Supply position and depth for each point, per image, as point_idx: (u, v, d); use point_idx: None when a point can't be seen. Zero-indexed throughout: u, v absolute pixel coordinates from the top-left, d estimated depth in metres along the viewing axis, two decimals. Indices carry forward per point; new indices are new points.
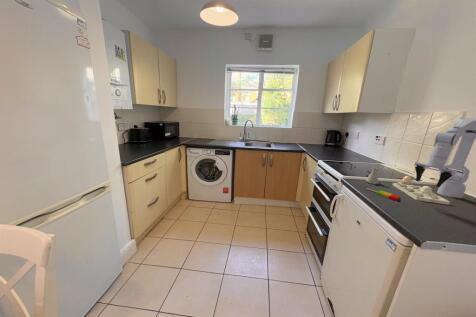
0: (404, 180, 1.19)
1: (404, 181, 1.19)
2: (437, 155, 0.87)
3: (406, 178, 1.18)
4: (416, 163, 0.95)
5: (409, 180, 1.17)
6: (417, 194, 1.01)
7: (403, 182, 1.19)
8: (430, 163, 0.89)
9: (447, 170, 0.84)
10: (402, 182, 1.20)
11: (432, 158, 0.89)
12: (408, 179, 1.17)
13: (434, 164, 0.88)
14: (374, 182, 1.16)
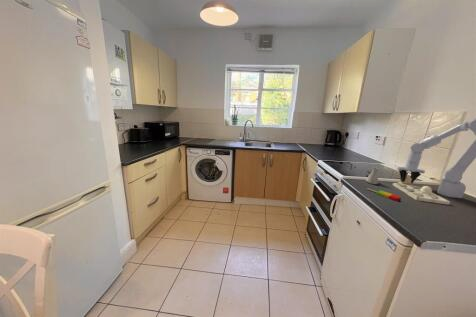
0: None
1: (404, 181, 1.19)
2: None
3: (406, 178, 1.18)
4: None
5: (409, 180, 1.17)
6: (417, 194, 1.01)
7: (403, 182, 1.19)
8: None
9: None
10: (402, 182, 1.20)
11: None
12: (408, 179, 1.17)
13: None
14: (374, 182, 1.16)
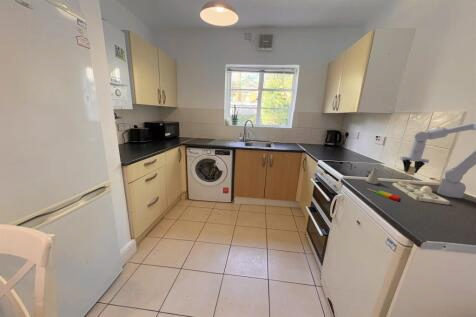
0: (408, 170, 1.17)
1: (408, 171, 1.17)
2: None
3: (410, 168, 1.16)
4: None
5: (413, 170, 1.15)
6: (417, 194, 1.01)
7: (406, 172, 1.17)
8: None
9: None
10: (405, 172, 1.18)
11: None
12: (412, 169, 1.15)
13: None
14: (374, 182, 1.16)
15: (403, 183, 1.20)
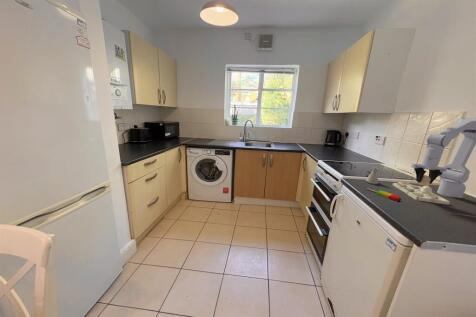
0: (421, 180, 0.97)
1: (421, 181, 0.97)
2: (429, 156, 0.93)
3: (423, 177, 0.96)
4: None
5: (427, 180, 0.95)
6: (417, 194, 1.01)
7: (419, 182, 0.98)
8: None
9: None
10: (418, 182, 0.98)
11: None
12: (426, 179, 0.95)
13: None
14: (374, 182, 1.16)
15: (403, 183, 1.20)
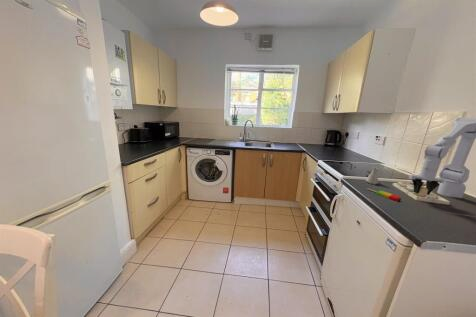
0: None
1: None
2: (427, 168, 0.93)
3: (421, 189, 0.96)
4: None
5: (425, 191, 0.96)
6: None
7: (417, 193, 0.98)
8: None
9: None
10: (416, 193, 0.98)
11: None
12: (423, 190, 0.96)
13: None
14: (374, 182, 1.16)
15: (403, 183, 1.20)
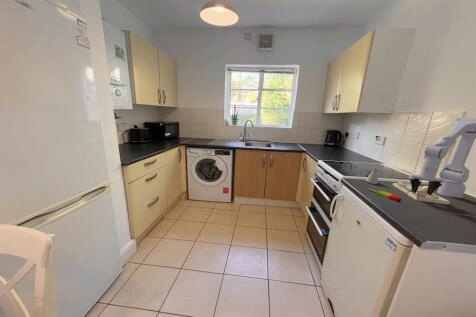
0: (417, 194, 0.98)
1: (417, 195, 0.98)
2: (427, 168, 0.93)
3: (420, 191, 0.97)
4: None
5: (424, 194, 0.96)
6: None
7: None
8: None
9: None
10: None
11: None
12: (423, 193, 0.96)
13: None
14: (374, 182, 1.16)
15: (403, 183, 1.20)
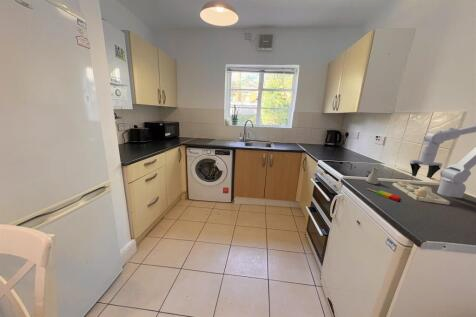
0: (417, 193, 0.98)
1: (417, 195, 0.98)
2: (423, 152, 1.04)
3: (420, 191, 0.97)
4: None
5: (424, 194, 0.96)
6: None
7: None
8: None
9: None
10: None
11: None
12: (423, 193, 0.96)
13: None
14: (374, 182, 1.16)
15: (403, 183, 1.20)
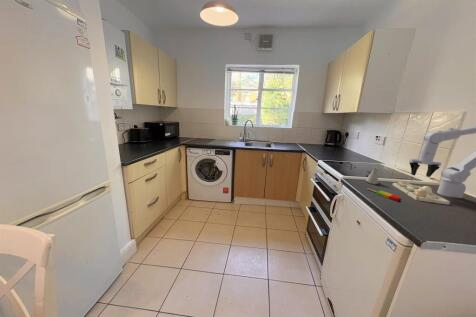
0: (417, 193, 0.98)
1: (417, 195, 0.98)
2: (422, 151, 1.06)
3: (420, 191, 0.97)
4: None
5: (424, 194, 0.96)
6: None
7: None
8: None
9: None
10: None
11: None
12: (422, 193, 0.96)
13: None
14: (374, 182, 1.16)
15: (403, 183, 1.20)
